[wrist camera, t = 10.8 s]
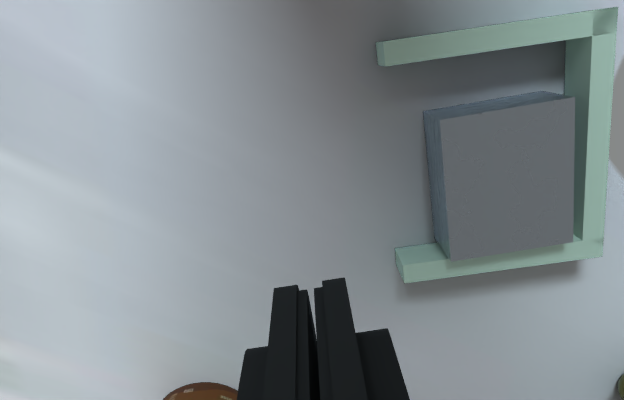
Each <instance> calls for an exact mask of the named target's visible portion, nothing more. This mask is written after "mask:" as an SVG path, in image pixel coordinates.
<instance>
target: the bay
mask: <svg viewBox="0 0 624 400" xmlns="http://www.w3.org/2000/svg"><path fill="white" fill-rule="evenodd" d="M617 16H618V7H613V8H606V9H598V10H591V11H584V12H577V13H571V14H564V15H557V16H550V17H544V18H537V19H530V20H524V21H517V22H510V23H503V24H497V25H490V26H483V27H476V28H470V29H463V30H456V31H450V32H443V33H436V34H429V35H423V36H416V37H409V38H402V39H396V40H389V41H382V42H376V49H377V60H378V65H380V66H385V67H386V66H393V65H400V64H407V63H413V62H420V61H427V60H434V59H440V58H447V57H454V56H461V55H468V54H474V53H481V52H488V51H495V50H502V49H508V48H515V47H522V46H529V45H535V44H542V43H549V42H556V41H563V40H566V53H565V86H564V95H567V96H573V97H575V149H574V223H573V242H571V243H565V244H559V245H552V246H546V247H540V248H534V249H528V250H521V251H515V252H509V253H503V254H496V255H490V256H484V257H478V258H471V259H465V260H459V261H453V262H451V261H450V260H449V258H448V257H447V255H446V254H445V252H444V251H443V250H442V248H441V247H440V245H439V244H438V242H437V243H430V244H423V245H416V246H408V247H401V248H395V255H396V265H397V268H398V270H399V272H400V275H401V277H402V279H403V281H404V284H405V283H413V282H420V281H427V280H435V279H442V278H449V277H457V276H464V275H471V274H479V273H486V272H493V271H501V270H508V269H515V268H523V267H530V266H537V265H545V264H552V263H559V262H567V261H574V260H581V259H589V258H596V257H602V254H603V238H604V222H605V206H606V191H607V175H608V159H609V142H610V127H611V111H612V95H613V80H614V64H615V48H616V32H617Z"/></svg>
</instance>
